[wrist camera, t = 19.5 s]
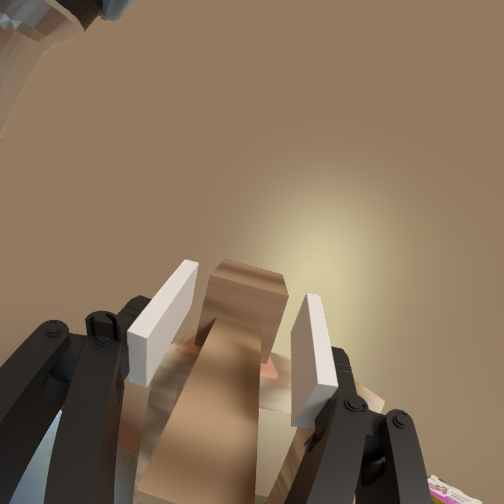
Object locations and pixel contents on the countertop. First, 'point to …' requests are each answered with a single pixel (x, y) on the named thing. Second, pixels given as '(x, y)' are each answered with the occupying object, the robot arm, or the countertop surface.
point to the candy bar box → (447, 493)
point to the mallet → (219, 395)
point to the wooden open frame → (270, 397)
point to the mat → (195, 350)
